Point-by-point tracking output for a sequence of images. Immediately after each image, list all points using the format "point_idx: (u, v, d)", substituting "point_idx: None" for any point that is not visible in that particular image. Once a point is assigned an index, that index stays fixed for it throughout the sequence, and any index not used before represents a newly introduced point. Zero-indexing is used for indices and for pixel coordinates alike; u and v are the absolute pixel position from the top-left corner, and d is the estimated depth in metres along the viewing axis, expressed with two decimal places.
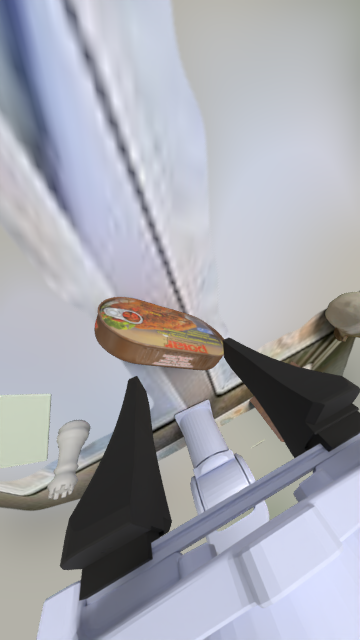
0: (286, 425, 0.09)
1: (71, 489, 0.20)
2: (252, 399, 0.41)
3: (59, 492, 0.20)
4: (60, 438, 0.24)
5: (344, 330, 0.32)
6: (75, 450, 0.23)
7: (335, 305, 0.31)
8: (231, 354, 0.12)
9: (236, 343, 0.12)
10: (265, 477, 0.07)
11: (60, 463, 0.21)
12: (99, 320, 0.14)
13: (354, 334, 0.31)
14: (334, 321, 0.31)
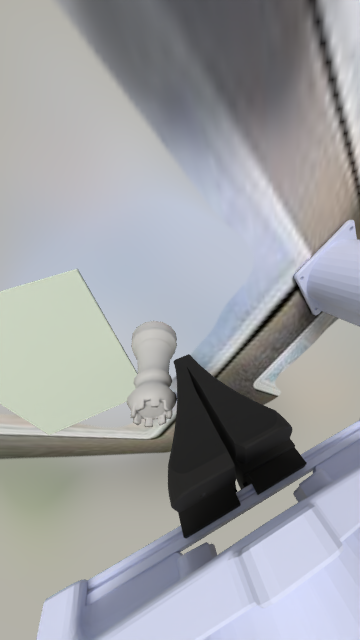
0: (229, 456, 0.08)
1: (166, 408, 0.10)
2: None
3: (150, 415, 0.10)
4: (134, 346, 0.15)
5: None
6: (157, 355, 0.13)
7: None
8: None
9: (192, 362, 0.11)
10: None
11: (138, 372, 0.12)
12: None
13: None
14: None
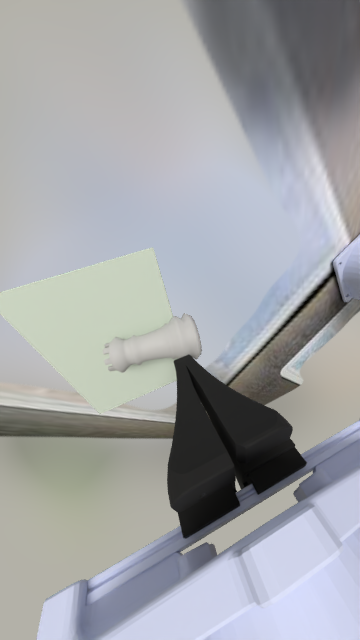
0: (229, 456, 0.08)
1: (105, 361, 0.13)
2: None
3: None
4: None
5: None
6: (151, 340, 0.14)
7: None
8: (188, 373, 0.11)
9: (192, 362, 0.11)
10: None
11: None
12: None
13: None
14: None
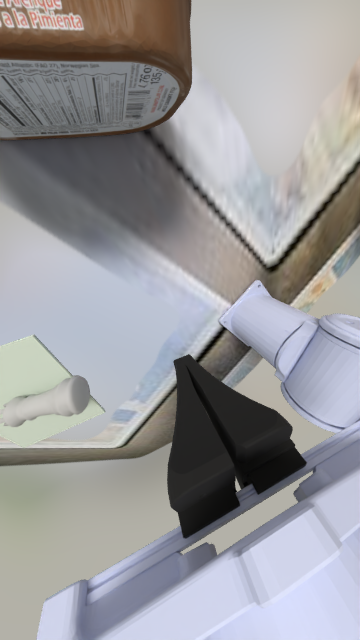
0: (230, 456, 0.08)
1: None
2: None
3: None
4: None
5: None
6: (38, 402, 0.18)
7: None
8: (188, 373, 0.11)
9: (192, 362, 0.11)
10: None
11: (35, 395, 0.19)
12: None
13: None
14: None
